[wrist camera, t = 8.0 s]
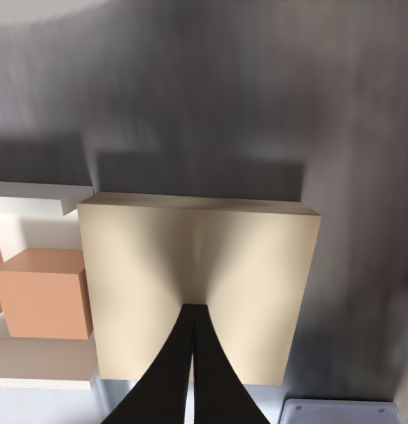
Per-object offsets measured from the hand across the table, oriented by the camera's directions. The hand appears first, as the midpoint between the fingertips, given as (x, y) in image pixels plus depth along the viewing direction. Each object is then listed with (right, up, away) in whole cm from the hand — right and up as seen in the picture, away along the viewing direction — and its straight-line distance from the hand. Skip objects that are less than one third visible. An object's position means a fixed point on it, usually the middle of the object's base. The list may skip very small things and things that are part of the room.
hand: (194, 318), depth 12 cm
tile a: (-8, +1, +3) cm, 9 cm away
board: (0, +1, +3) cm, 3 cm away
